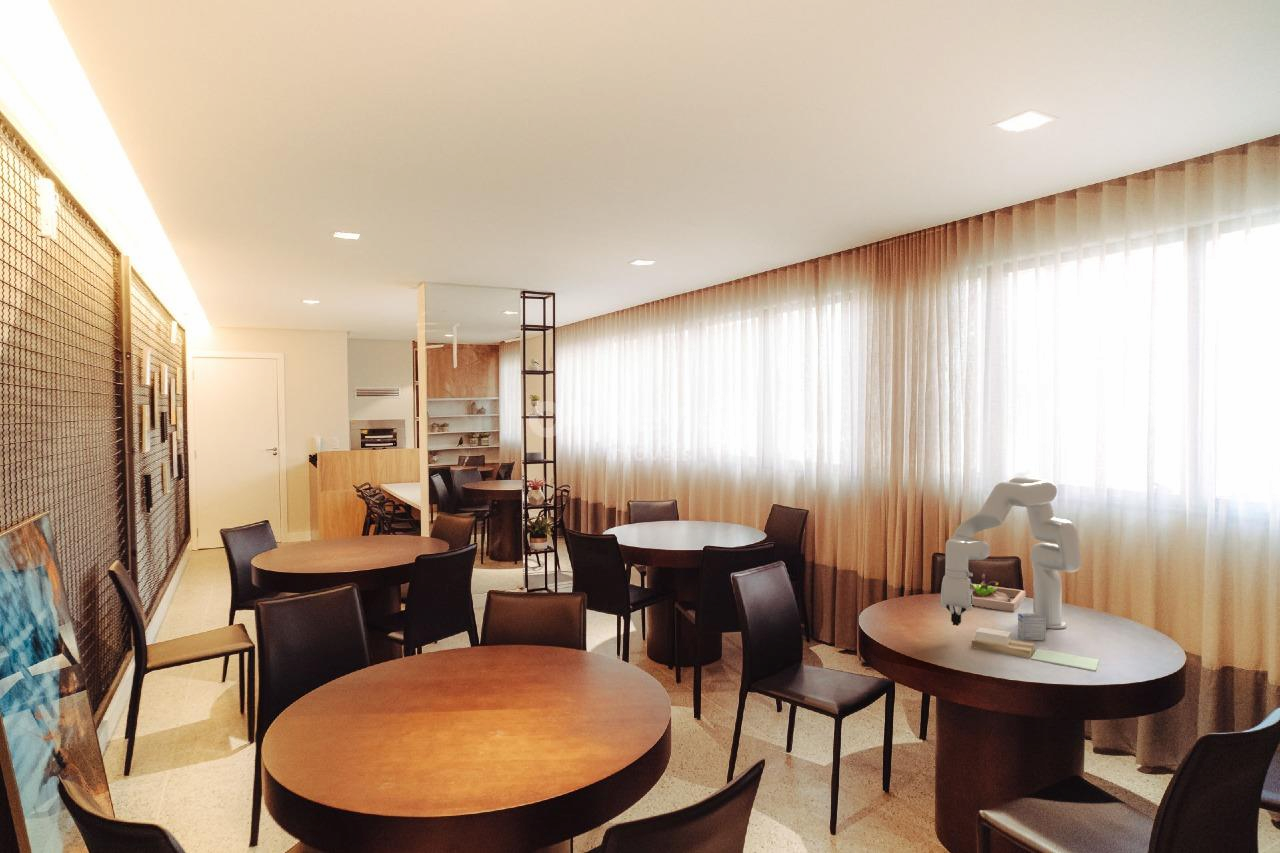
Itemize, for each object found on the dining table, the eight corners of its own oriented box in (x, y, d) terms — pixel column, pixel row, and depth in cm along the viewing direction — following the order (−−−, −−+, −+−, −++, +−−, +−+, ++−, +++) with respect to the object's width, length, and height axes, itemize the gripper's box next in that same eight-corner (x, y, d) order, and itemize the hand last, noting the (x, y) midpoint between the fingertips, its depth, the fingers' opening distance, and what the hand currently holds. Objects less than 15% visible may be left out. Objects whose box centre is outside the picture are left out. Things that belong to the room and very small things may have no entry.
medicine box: (1040, 636, 253) (1040, 613, 252) (1046, 640, 248) (1046, 616, 248) (1017, 636, 253) (1017, 612, 253) (1023, 640, 249) (1023, 616, 249)
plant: (1007, 596, 311) (1007, 572, 311) (1012, 607, 293) (1012, 581, 293) (958, 592, 318) (958, 568, 318) (960, 603, 300) (960, 577, 300)
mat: (1036, 649, 238) (1036, 648, 238) (1099, 660, 227) (1099, 659, 227) (1031, 659, 229) (1031, 658, 229) (1095, 671, 218) (1095, 670, 218)
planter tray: (960, 589, 323) (960, 582, 323) (1025, 598, 306) (1025, 590, 306) (945, 601, 302) (945, 593, 302) (1014, 612, 285) (1014, 603, 285)
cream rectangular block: (979, 635, 247) (979, 627, 247) (1011, 640, 241) (1011, 632, 241) (976, 639, 242) (976, 631, 242) (1007, 645, 236) (1007, 636, 236)
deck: (978, 640, 249) (978, 633, 249) (1034, 650, 238) (1034, 643, 238) (971, 647, 241) (971, 640, 241) (1029, 658, 230) (1029, 651, 230)
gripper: (981, 575, 247) (981, 626, 247) (937, 569, 256) (937, 618, 256) (976, 578, 241) (976, 631, 241) (932, 572, 250) (931, 623, 250)
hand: (956, 624), depth 248 cm, fingers closed
